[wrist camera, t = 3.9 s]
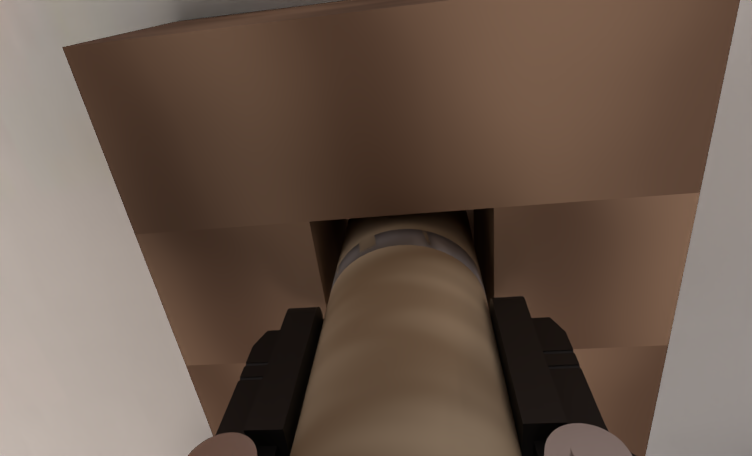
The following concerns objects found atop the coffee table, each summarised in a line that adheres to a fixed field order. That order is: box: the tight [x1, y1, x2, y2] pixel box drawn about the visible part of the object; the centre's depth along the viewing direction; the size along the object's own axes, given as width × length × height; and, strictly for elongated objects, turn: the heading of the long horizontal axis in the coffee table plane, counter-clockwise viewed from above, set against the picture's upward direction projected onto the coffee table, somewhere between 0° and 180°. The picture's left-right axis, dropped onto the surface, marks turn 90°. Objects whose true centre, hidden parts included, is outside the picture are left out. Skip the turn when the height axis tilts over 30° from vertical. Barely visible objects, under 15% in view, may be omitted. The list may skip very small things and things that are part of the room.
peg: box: [290, 210, 522, 456], centre depth 12 cm, size 4×4×12 cm
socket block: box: [63, 0, 740, 456], centre depth 16 cm, size 14×14×6 cm
